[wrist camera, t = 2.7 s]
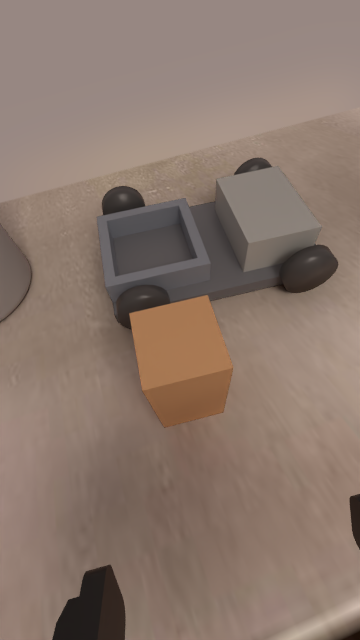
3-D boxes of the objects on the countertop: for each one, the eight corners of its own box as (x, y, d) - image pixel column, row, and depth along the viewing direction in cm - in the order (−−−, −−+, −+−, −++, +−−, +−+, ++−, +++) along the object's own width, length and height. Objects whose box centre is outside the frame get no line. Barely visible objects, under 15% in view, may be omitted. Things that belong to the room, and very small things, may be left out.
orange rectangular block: (206, 358, 27) (207, 294, 18) (223, 412, 24) (233, 367, 16) (153, 371, 26) (129, 313, 18) (164, 427, 24) (142, 390, 15)
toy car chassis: (270, 191, 38) (280, 148, 33) (331, 285, 30) (354, 246, 25) (104, 227, 37) (90, 188, 32) (120, 335, 29) (103, 304, 24)
